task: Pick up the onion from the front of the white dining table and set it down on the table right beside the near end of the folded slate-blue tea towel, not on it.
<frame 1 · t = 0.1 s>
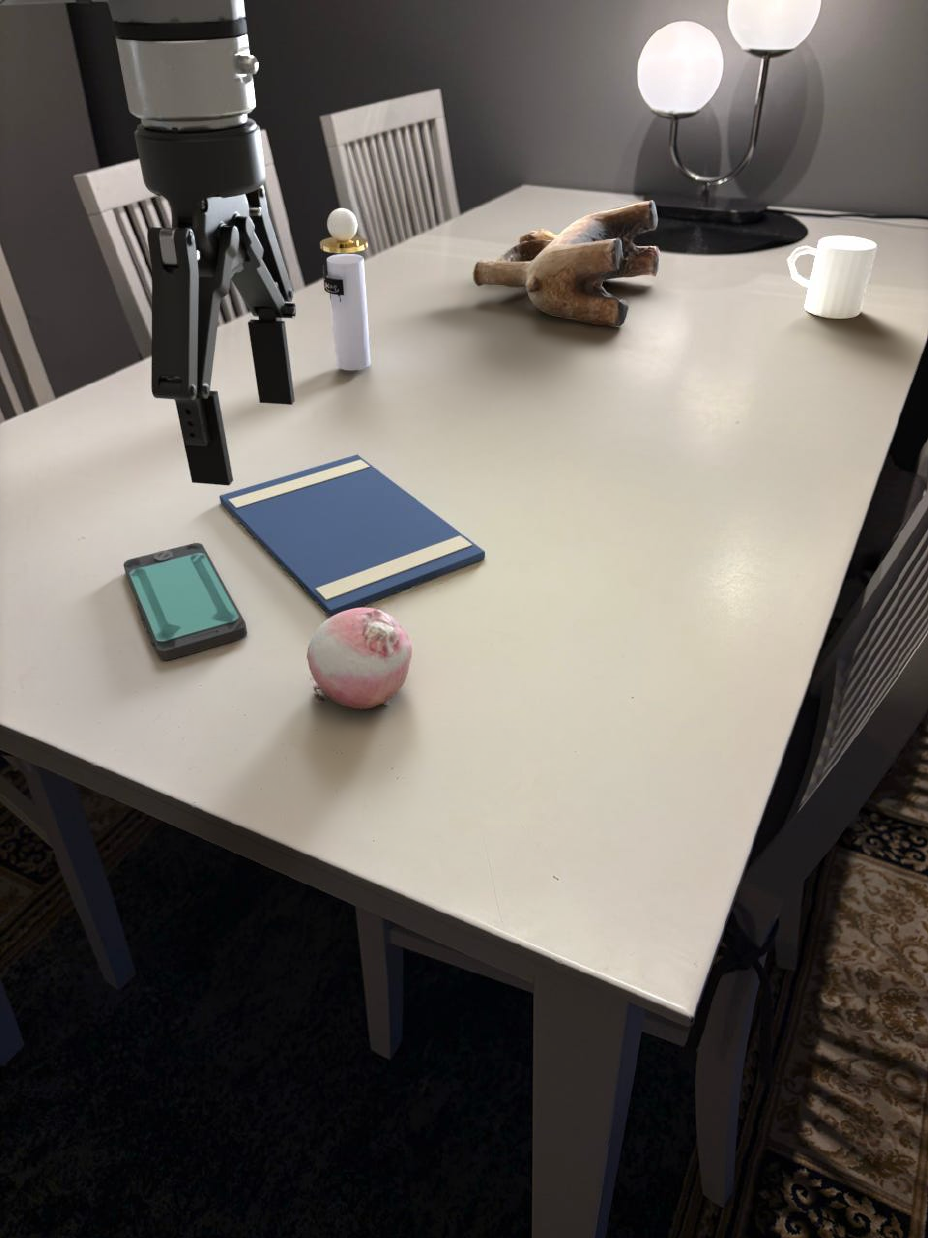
hand: (247, 439, 68), 16 cm above the table, tool pointing down, fingers open, 13 cm apart
perfume bottle: (354, 370, 121), on the table
onion: (361, 693, 69), on the table
towel: (346, 529, 88), on the table
mug: (818, 310, 139), on the table
ceramic vessel: (565, 295, 146), on the table
smartphone: (183, 604, 79), on the table
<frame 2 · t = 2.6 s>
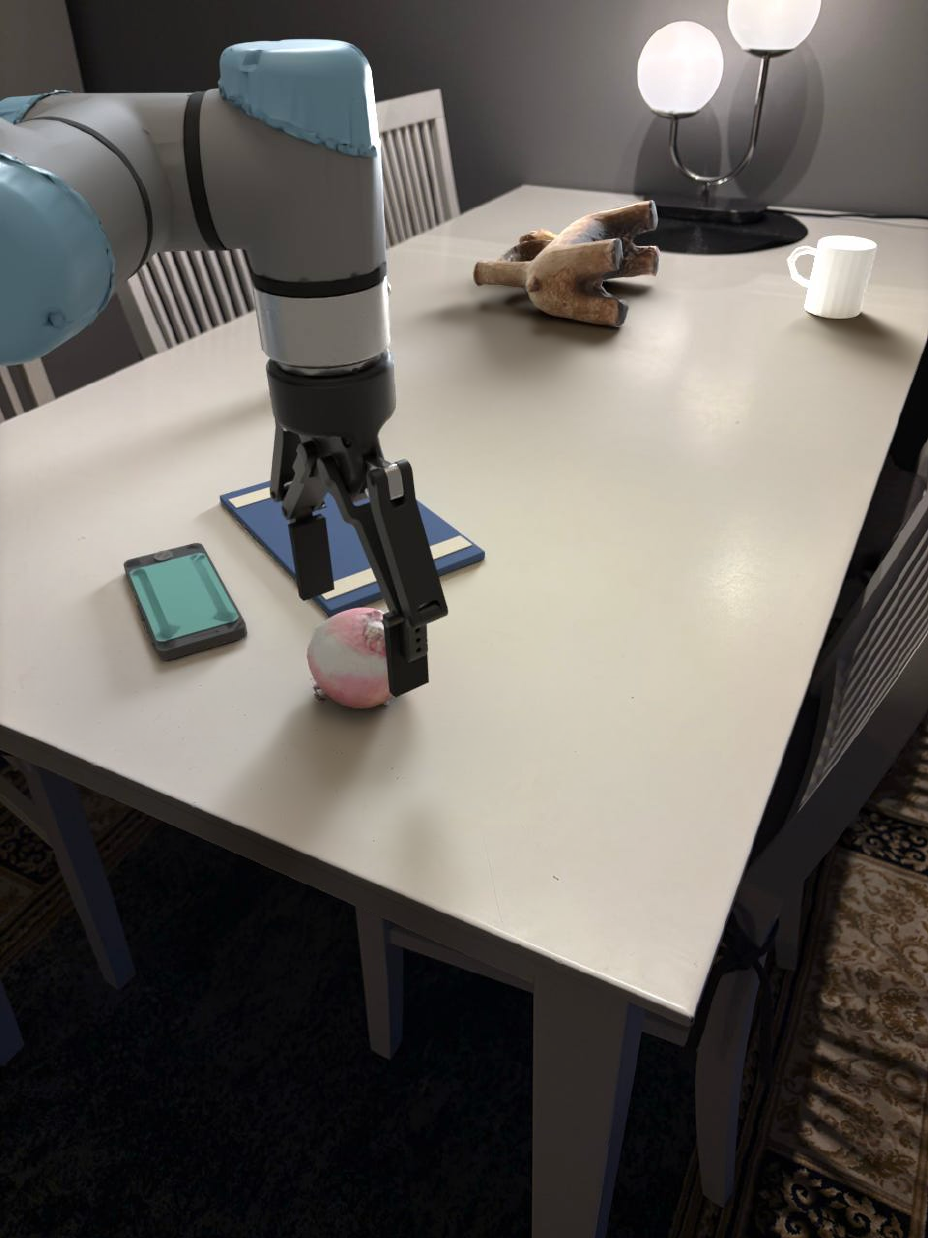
hand: (360, 637, 66), 5 cm above the table, tool pointing down, fingers open, 13 cm apart
nothing on the table moved.
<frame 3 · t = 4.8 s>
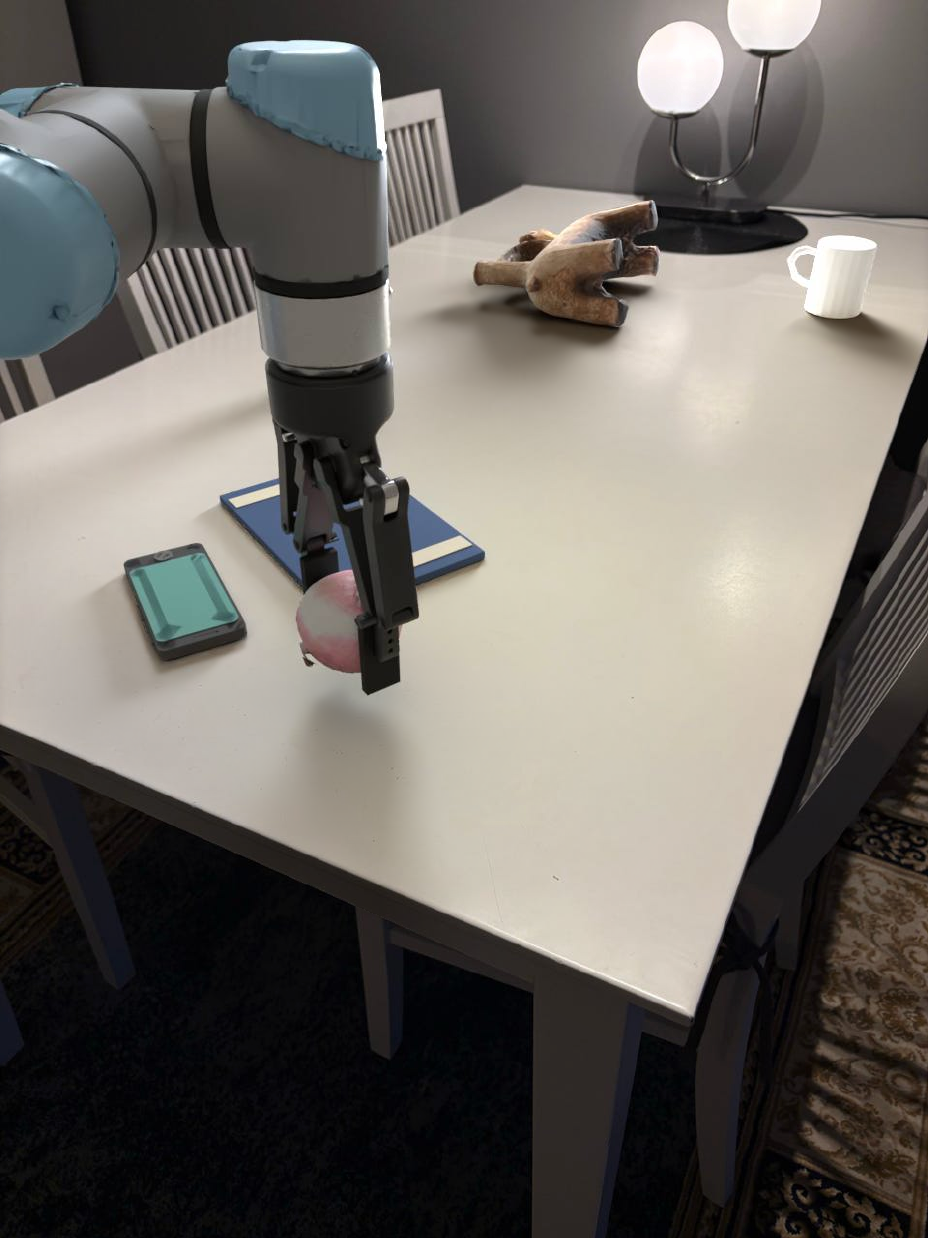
hand: (352, 654, 67), 4 cm above the table, tool pointing down, fingers closed on onion, 8 cm apart
onion: (351, 659, 67), point 3 cm above the table, touching gripper
everything else where it was.
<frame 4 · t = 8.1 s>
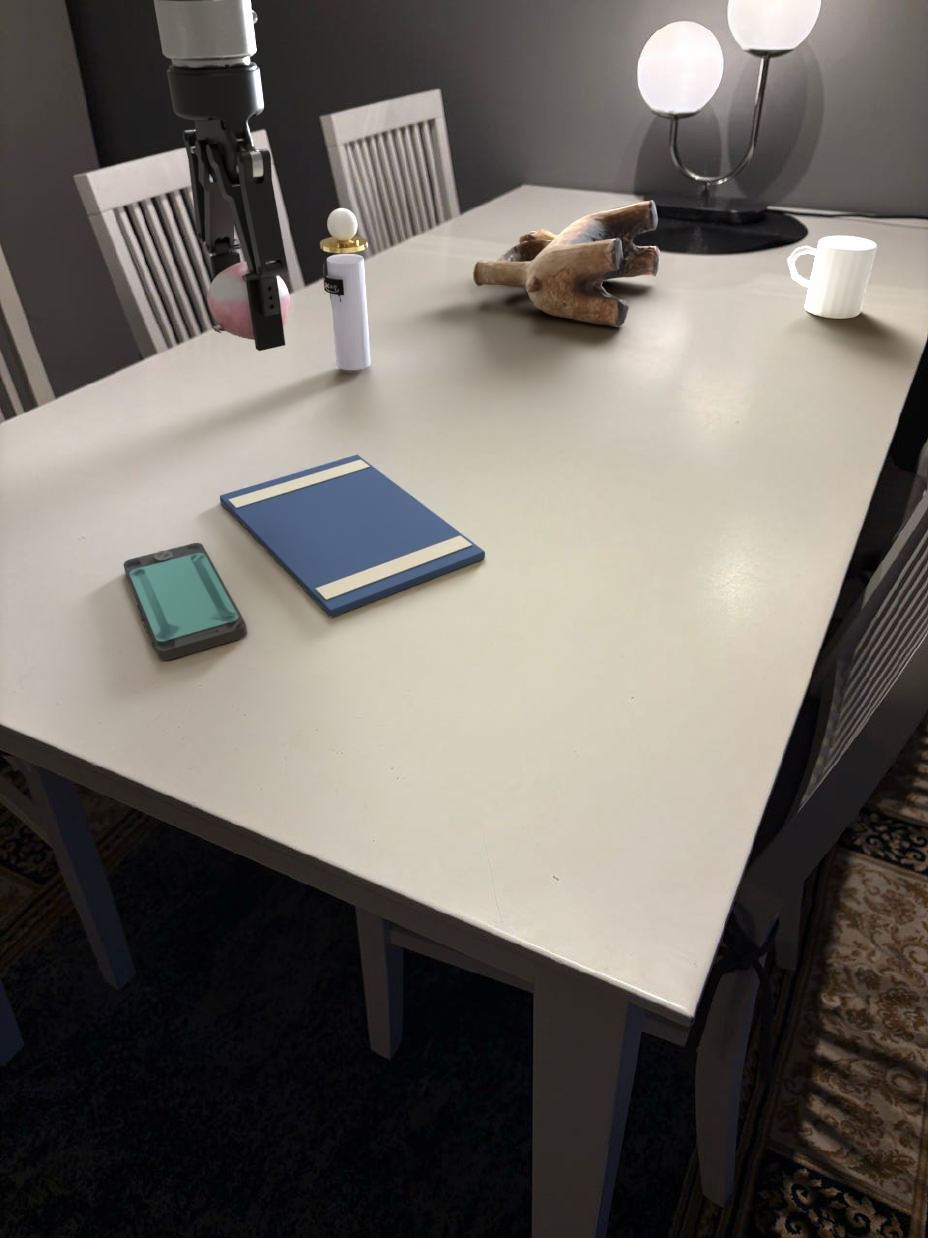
hand: (252, 333, 89), 15 cm above the table, tool pointing down, fingers closed on onion, 8 cm apart
onion: (253, 338, 89), point 15 cm above the table, touching gripper
everything else where it was.
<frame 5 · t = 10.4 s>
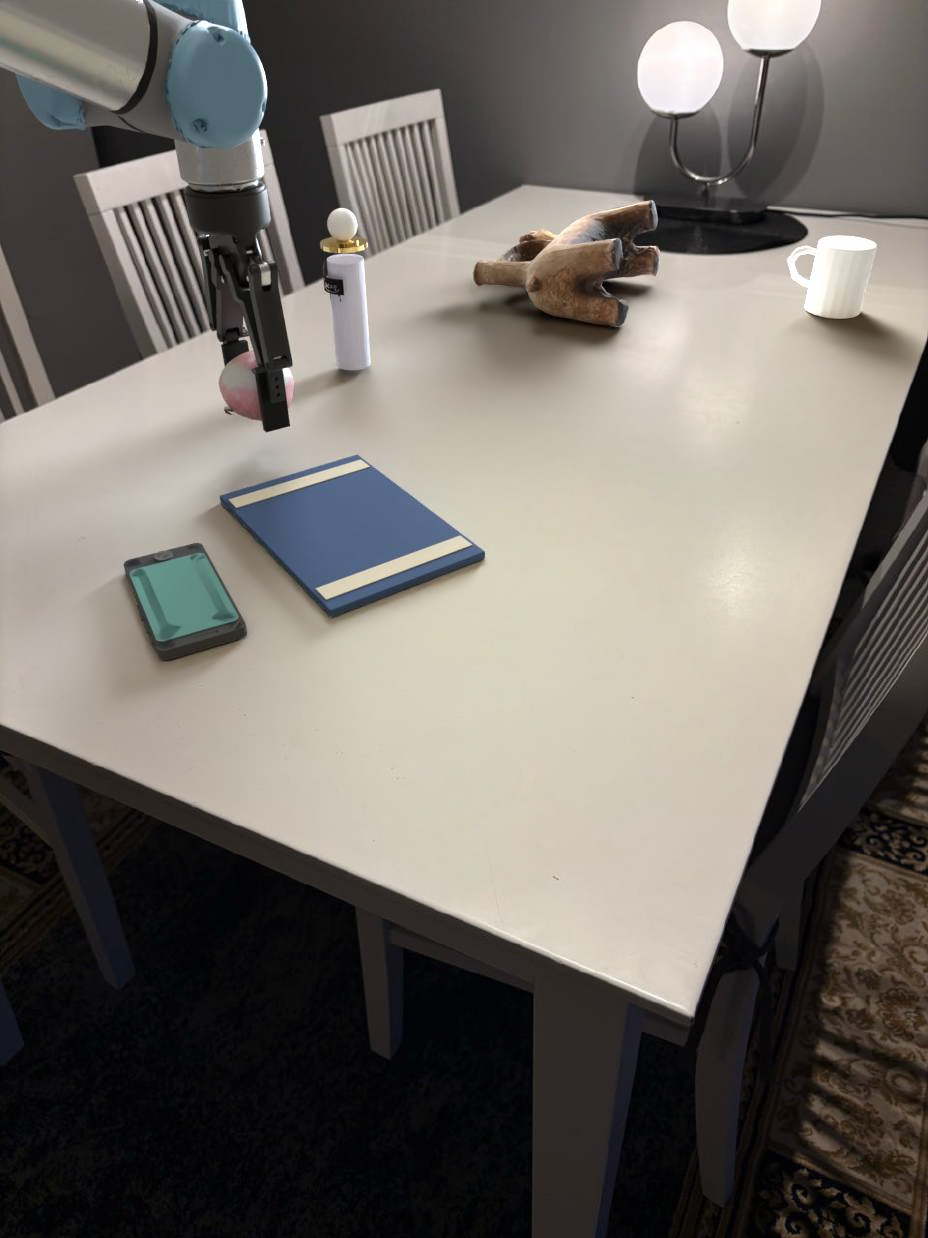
hand: (259, 413, 97), 5 cm above the table, tool pointing down, fingers closed on onion, 8 cm apart
onion: (260, 417, 98), point 5 cm above the table, touching gripper
everything else where it was.
when the fingers open (0 cm above the table, at t = 11.8 s): onion stays where it is, on the table.
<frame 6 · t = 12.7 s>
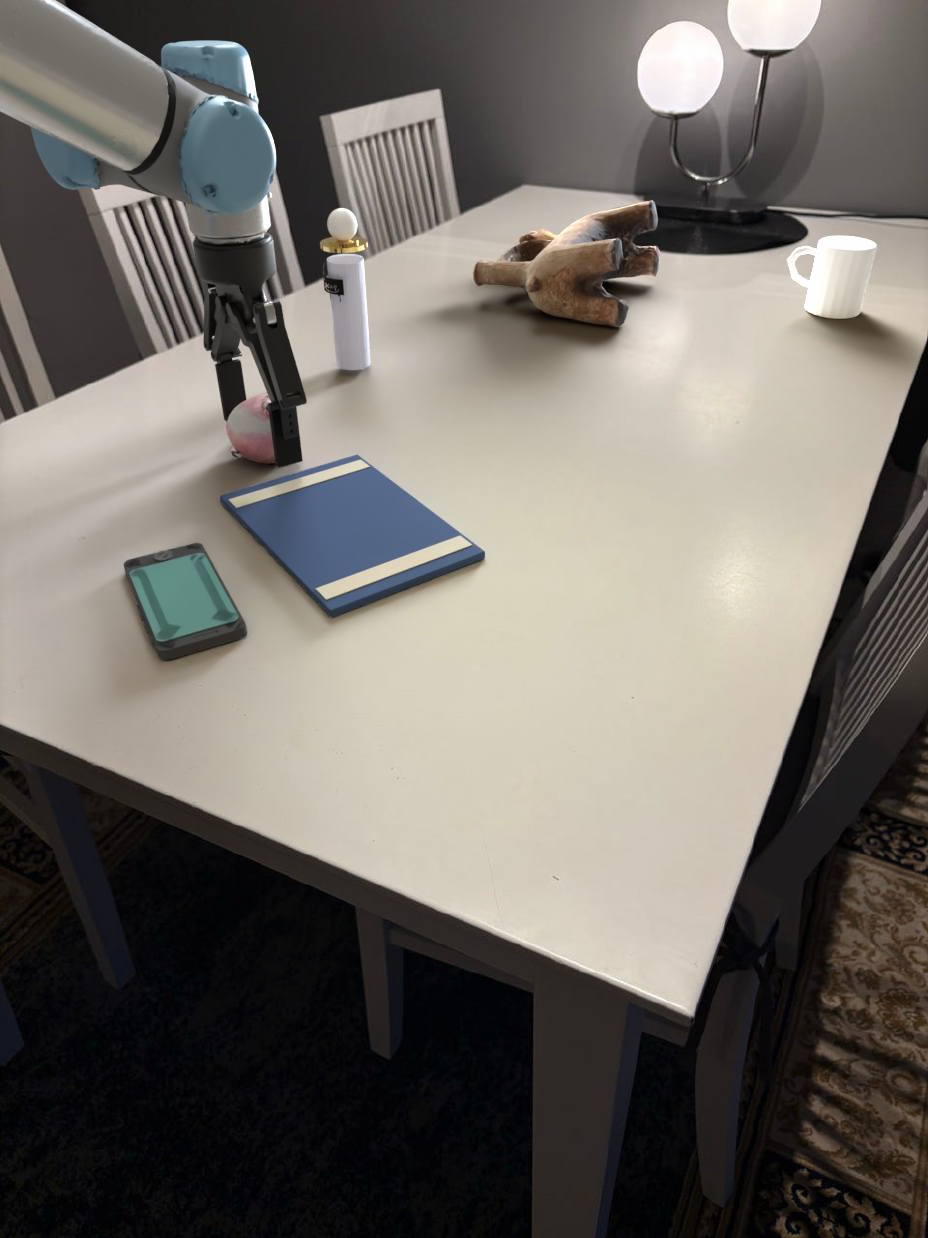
hand: (261, 439, 99), 2 cm above the table, tool pointing down, fingers open, 13 cm apart
onion: (266, 459, 101), on the table
everything else where it was.
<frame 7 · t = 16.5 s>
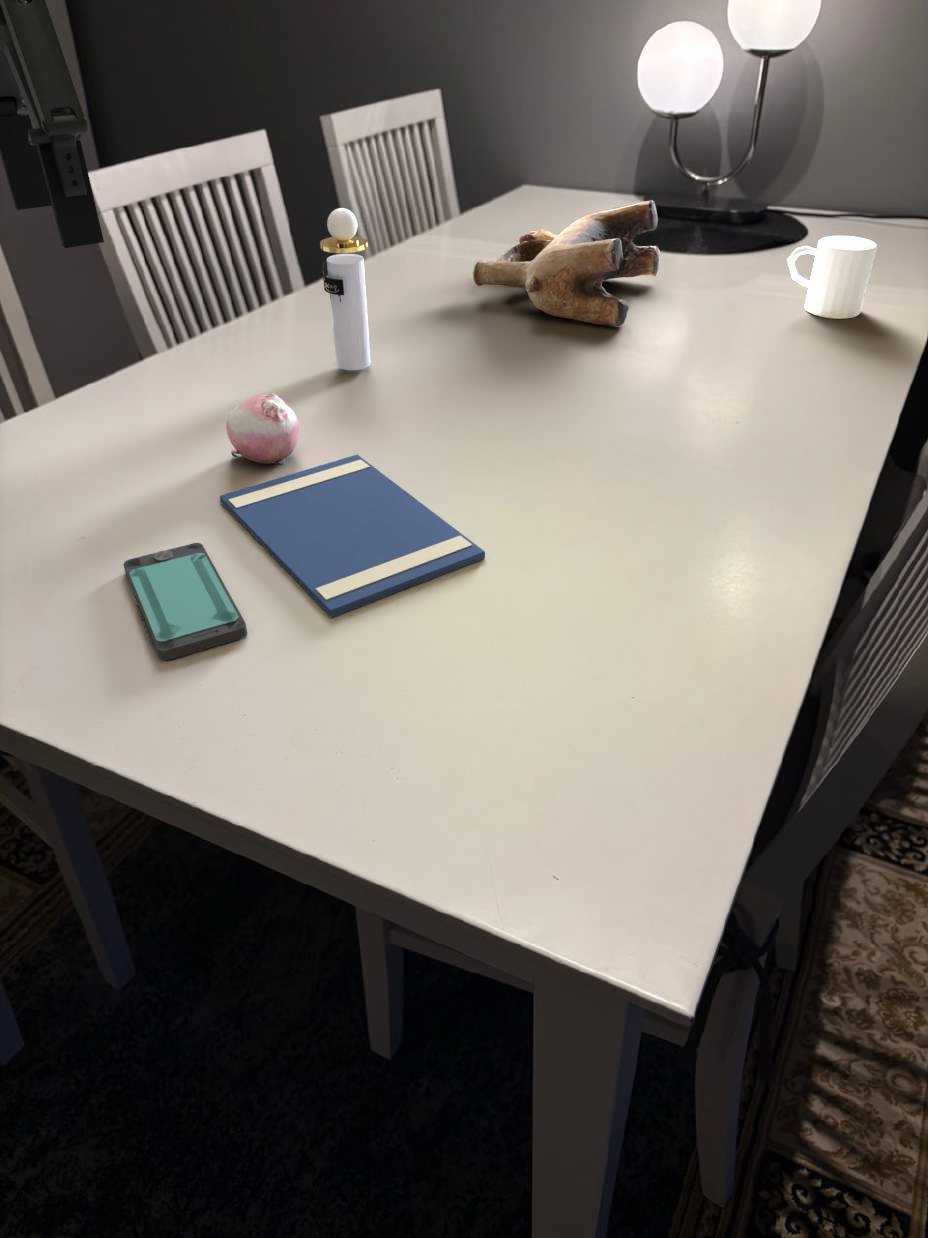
hand: (57, 224, 69), 29 cm above the table, tool pointing down, fingers open, 13 cm apart
nothing on the table moved.
at the end: onion inside the target area on the table beside the towel (0.2 cm from its centre), on the table; onion 18.5 cm from the towel (horizontally); the gripper is holding nothing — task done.
